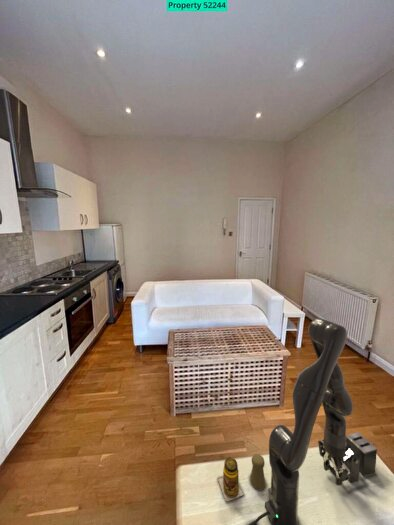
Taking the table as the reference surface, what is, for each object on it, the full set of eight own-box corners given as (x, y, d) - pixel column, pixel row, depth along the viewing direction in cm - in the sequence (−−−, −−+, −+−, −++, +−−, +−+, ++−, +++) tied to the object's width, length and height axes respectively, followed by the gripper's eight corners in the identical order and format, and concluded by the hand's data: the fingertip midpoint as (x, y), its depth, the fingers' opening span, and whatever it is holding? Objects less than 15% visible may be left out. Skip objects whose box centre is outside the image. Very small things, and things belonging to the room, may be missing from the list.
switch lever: (337, 480, 87) (335, 476, 86) (327, 467, 92) (325, 464, 91) (359, 460, 89) (357, 456, 89) (348, 449, 94) (346, 445, 93)
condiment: (226, 502, 84) (226, 474, 83) (218, 479, 92) (218, 453, 91) (243, 495, 86) (243, 468, 85) (233, 473, 94) (233, 448, 93)
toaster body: (362, 479, 92) (364, 452, 91) (344, 459, 100) (346, 435, 99) (375, 474, 94) (377, 448, 92) (356, 455, 102) (357, 431, 101)
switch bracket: (348, 492, 87) (350, 463, 86) (331, 472, 95) (332, 445, 93) (367, 485, 89) (369, 457, 88) (349, 466, 97) (350, 439, 96)
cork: (265, 491, 88) (266, 466, 87) (250, 487, 89) (251, 463, 88) (264, 475, 94) (264, 452, 92) (249, 472, 95) (250, 449, 94)
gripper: (313, 426, 94) (311, 462, 95) (343, 458, 80) (340, 499, 82) (327, 422, 96) (325, 457, 97) (359, 453, 82) (356, 493, 84)
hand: (332, 476), depth 89 cm, fingers closed on switch lever, 5 cm apart
